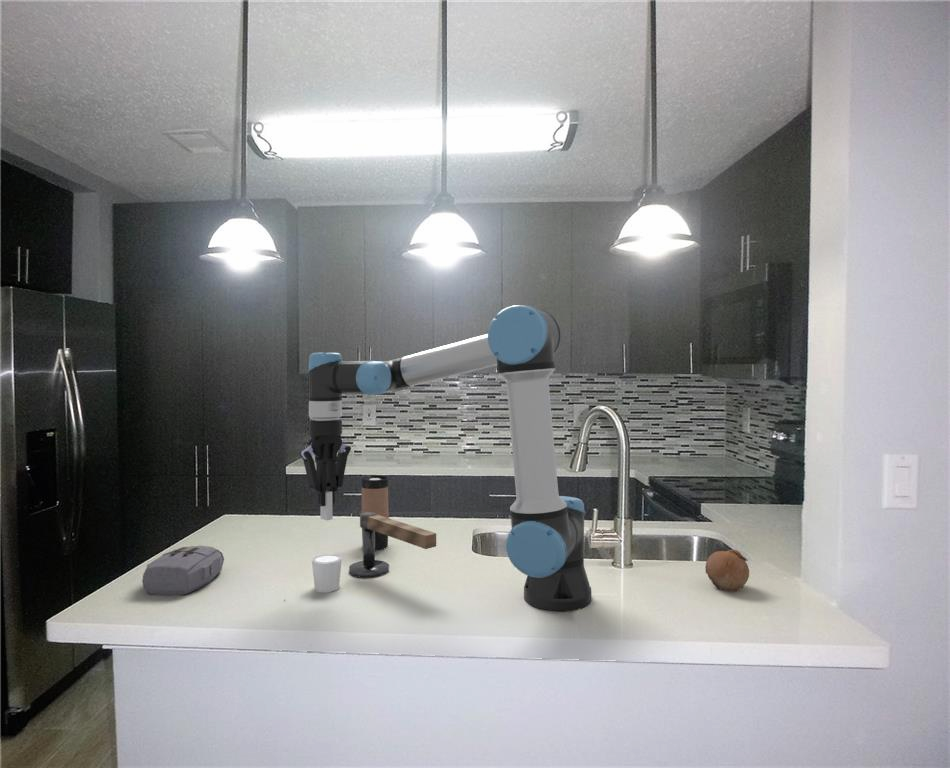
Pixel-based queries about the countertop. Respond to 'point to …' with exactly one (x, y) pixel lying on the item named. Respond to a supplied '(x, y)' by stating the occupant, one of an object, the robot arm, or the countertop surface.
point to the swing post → (368, 559)
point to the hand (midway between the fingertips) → (326, 518)
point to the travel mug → (376, 503)
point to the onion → (727, 570)
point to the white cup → (326, 572)
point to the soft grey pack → (182, 570)
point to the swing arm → (398, 530)
